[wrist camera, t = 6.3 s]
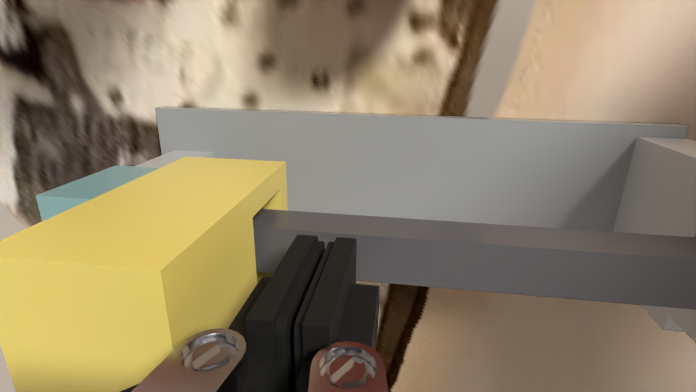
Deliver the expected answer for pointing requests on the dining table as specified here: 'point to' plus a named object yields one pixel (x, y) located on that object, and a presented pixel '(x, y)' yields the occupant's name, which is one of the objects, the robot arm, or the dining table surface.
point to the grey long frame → (462, 199)
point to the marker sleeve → (132, 274)
